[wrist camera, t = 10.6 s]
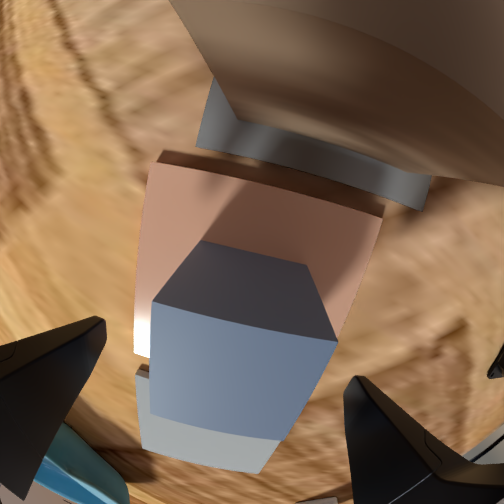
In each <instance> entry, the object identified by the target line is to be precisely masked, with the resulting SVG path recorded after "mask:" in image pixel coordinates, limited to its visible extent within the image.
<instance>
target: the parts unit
mask: <svg viewBox="0 0 504 504" xmlns="http://www.w3.org/2000/svg"><path fill="white" fill-rule="evenodd" d="M169 2H170V3H171V5H172V6H173V8H174V9H175V11H176V13H177V14H178V16H179V17H180V19H181V21H182V22H183V24H184V26H185V27H186V29H187V31H188V32H189V34H190V36H191V37H192V39H193V41H194V42H195V44H196V46H197V47H198V49H199V51H200V52H201V54H202V56H203V58H204V59H205V61H206V63H207V65H208V66H209V68H210V70H211V72H212V73H213V75H214V78H213V81H212V85H211V88H210V92H209V95H208V99H207V103H206V106H205V110H204V114H203V118H202V122H201V126H200V130H199V134H198V138H197V142H196V146H195V147H199V148H204V149H209V150H214V151H220V152H225V153H229V154H234V155H239V156H243V157H248V158H252V159H257V160H261V161H265V162H269V163H273V164H277V165H281V166H285V167H289V168H292V169H296V170H300V171H303V172H307V173H310V174H314V175H317V176H321V177H324V178H327V179H331V180H334V181H337V182H340V183H343V184H347V185H350V186H353V187H356V188H359V189H362V190H364V191H367V192H370V193H373V194H376V195H379V196H381V197H384V198H387V199H390V200H392V201H395V202H398V203H400V204H403V205H405V206H408V207H410V208H413V209H415V210H418V211H421V212H423V208H424V205H425V201H426V197H427V194H428V190H429V186H430V181H431V177H432V175H434V176H442V177H450V178H457V179H463V180H469V181H475V182H481V183H487V184H492V185H497V186H502V187H504V0H169Z"/></svg>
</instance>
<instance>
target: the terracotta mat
mask: <svg viewBox="0 0 504 504" xmlns="http://www.w3.org/2000/svg"><path fill="white" fill-rule="evenodd" d="M382 220H383V219H382V218H380V217H378V216H375V215H372V214H369V213H365V212H362V211H359V210H356V209H353V208H350V207H346V206H343V205H340V204H337V203H333V202H330V201H326V200H323V199H320V198H316V197H312V196H309V195H305V194H302V193H298V192H294V191H290V190H287V189H283V188H279V187H275V186H271V185H267V184H263V183H259V182H254V181H250V180H246V179H242V178H237V177H233V176H228V175H223V174H219V173H214V172H209V171H204V170H199V169H194V168H189V167H183V166H178V165H172V164H166V163H161V162H151V164H150V169H149V174H148V180H147V186H146V192H145V199H144V205H143V212H142V220H141V228H140V237H139V247H138V257H137V270H136V286H135V310H134V353H137V354H140V355H143V356H146V357H149V350H150V322H151V305H152V300H153V299H154V298H155V296H156V295H157V294H158V292H159V291H160V290H161V289H162V287H163V286H164V285H165V283H166V282H167V281H168V280H169V278H170V277H171V276H172V275H173V273H174V272H175V271H176V270H177V268H178V267H179V266H180V265H181V263H182V262H183V261H184V260H185V258H186V257H187V256H188V255H189V253H190V252H191V251H192V250H193V248H194V247H195V246H196V245H197V244H198V242H199V241H200V240H203V241H207V242H211V243H215V244H220V245H224V246H228V247H232V248H237V249H241V250H245V251H249V252H254V253H258V254H262V255H266V256H271V257H275V258H279V259H283V260H288V261H292V262H296V263H300V264H305V265H307V267H308V269H309V271H310V274H311V276H312V278H313V281H314V283H315V285H316V288H317V290H318V293H319V295H320V297H321V300H322V302H323V305H324V307H325V310H326V312H327V315H328V317H329V320H330V322H331V325H332V327H333V330H334V332H335V335H336V337H337V338H338V335H339V333H340V331H341V329H342V327H343V324H344V322H345V320H346V318H347V315H348V313H349V311H350V308H351V306H352V304H353V301H354V299H355V296H356V294H357V291H358V289H359V286H360V284H361V281H362V278H363V276H364V273H365V271H366V268H367V265H368V262H369V260H370V257H371V254H372V251H373V248H374V245H375V242H376V239H377V236H378V233H379V230H380V227H381V224H382Z"/></svg>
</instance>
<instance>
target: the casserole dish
mask: <svg viewBox="0 0 504 504" xmlns="http://www.w3.org/2000/svg"><path fill="white" fill-rule="evenodd" d="M33 481H35V482H37V483H38V484H40V485H42V486H44V487H45V488H48V489H49V490H51V491H53V492H55V493H57V494H59V495H61V496H63V497H65V498H67V499H69V500H71V501H73V502H76V503H78V504H130V500H129V492H128V488H127V485H126V483H125V481H124V480H123V478H122V477H121V476H120V474H119V473H118V472H117V471H116V470H115V469H114V468H113V467H111V466H110V465H109V464H108V463H107V462H106V461H105V460H104V459H103V458H102V457H100V456H99V455H98V454H97V453H96V452H95V451H94V450H93V449H92V448H91V447H90V446H89V445H88V444H87V443H86V442H85V441H84V440H83V439H82V438H81V437H80V436H79V435H78V434H77V433H76V432H75V431H73V430H72V429H71V428H70V427H69V426H68V425H67V424H65V423H64V422H63V423H62V424H61V426H60V428H59V430H58V432H57V434H56V435H55V437H54V439H53V441H52V443H51V445H50V447H49V449H48V451H47V453H46V455H45V457H44V459H43V461H42V463H41V465H40V467H39V469H38V471H37V473H36V476H35V478H34V480H33Z"/></svg>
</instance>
